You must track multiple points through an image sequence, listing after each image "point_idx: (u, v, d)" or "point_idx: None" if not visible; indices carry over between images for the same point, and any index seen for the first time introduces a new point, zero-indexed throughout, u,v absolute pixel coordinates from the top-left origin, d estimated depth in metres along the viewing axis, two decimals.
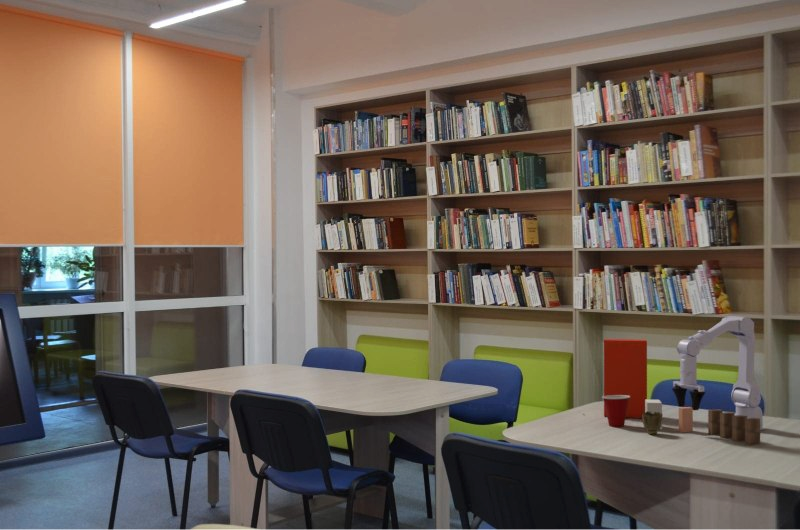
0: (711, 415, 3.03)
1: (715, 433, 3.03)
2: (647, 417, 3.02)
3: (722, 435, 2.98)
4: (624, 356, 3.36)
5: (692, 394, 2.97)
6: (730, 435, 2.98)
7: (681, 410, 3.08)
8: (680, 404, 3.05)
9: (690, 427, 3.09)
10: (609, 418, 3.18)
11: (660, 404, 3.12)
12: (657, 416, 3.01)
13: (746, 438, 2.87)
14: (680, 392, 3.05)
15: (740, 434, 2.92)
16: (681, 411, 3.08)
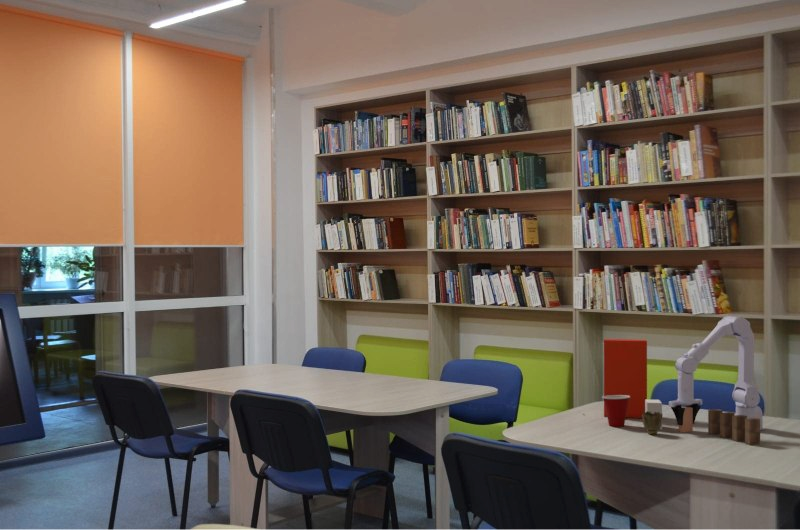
0: (711, 415, 3.03)
1: (715, 433, 3.03)
2: (647, 417, 3.02)
3: (722, 435, 2.98)
4: (624, 356, 3.36)
5: None
6: (730, 435, 2.98)
7: None
8: None
9: (690, 427, 3.09)
10: (609, 418, 3.18)
11: (660, 404, 3.12)
12: (657, 416, 3.01)
13: (746, 438, 2.87)
14: None
15: (740, 434, 2.92)
16: None
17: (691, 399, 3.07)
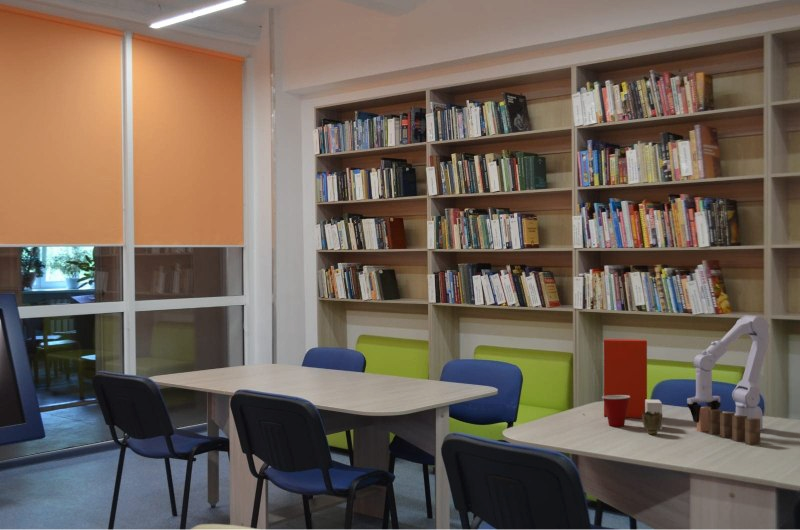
0: (711, 415, 3.03)
1: (715, 433, 3.03)
2: (647, 417, 3.02)
3: (722, 435, 2.98)
4: (624, 356, 3.36)
5: None
6: (730, 435, 2.98)
7: None
8: None
9: None
10: (609, 418, 3.18)
11: (660, 404, 3.12)
12: (657, 416, 3.01)
13: (746, 438, 2.87)
14: (710, 406, 3.12)
15: (740, 434, 2.92)
16: None
17: (709, 396, 3.07)
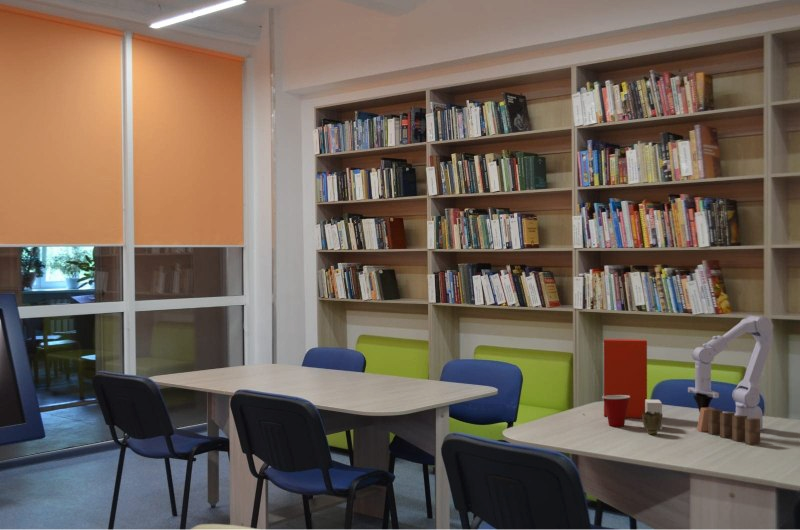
0: (711, 415, 3.03)
1: (715, 433, 3.03)
2: (647, 417, 3.02)
3: (722, 435, 2.98)
4: (624, 356, 3.36)
5: (700, 399, 3.08)
6: (730, 435, 2.98)
7: (703, 411, 3.07)
8: None
9: None
10: (609, 418, 3.18)
11: (660, 404, 3.12)
12: (657, 416, 3.01)
13: (746, 438, 2.87)
14: None
15: (740, 434, 2.92)
16: (703, 412, 3.07)
17: None
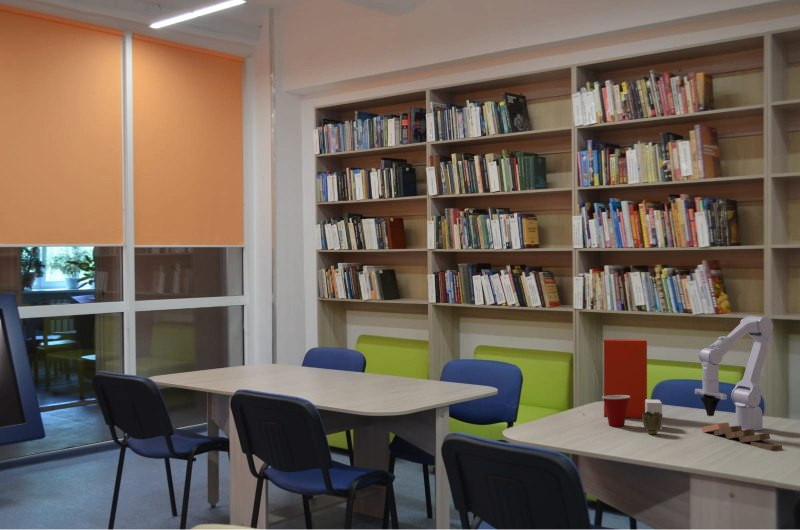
0: (728, 431, 2.95)
1: None
2: (647, 417, 3.02)
3: (727, 436, 2.95)
4: (624, 356, 3.36)
5: (708, 400, 3.04)
6: None
7: (717, 427, 3.00)
8: None
9: None
10: (609, 418, 3.18)
11: (660, 404, 3.12)
12: (657, 416, 3.01)
13: (755, 444, 2.84)
14: None
15: None
16: (716, 428, 3.00)
17: None
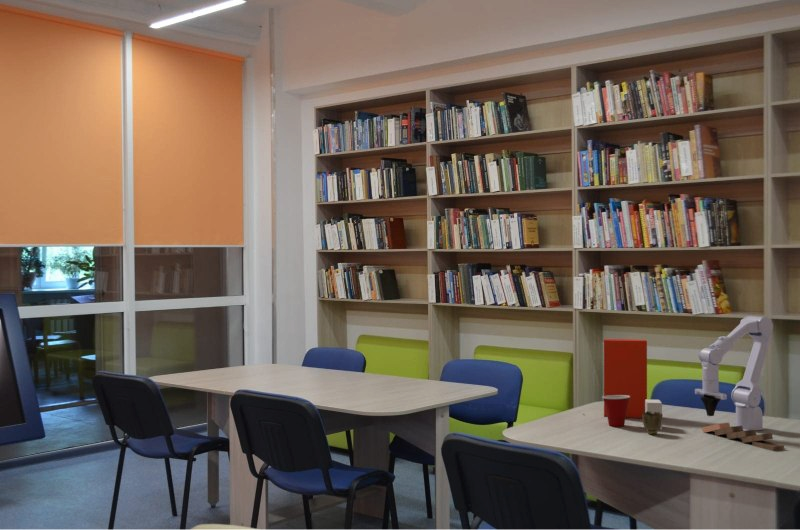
0: (729, 431, 2.95)
1: None
2: (647, 417, 3.02)
3: (728, 436, 2.95)
4: (624, 356, 3.36)
5: (708, 400, 3.04)
6: None
7: (718, 428, 3.00)
8: None
9: None
10: (609, 418, 3.18)
11: (660, 404, 3.12)
12: (657, 416, 3.01)
13: (757, 444, 2.83)
14: None
15: None
16: (717, 428, 3.00)
17: None
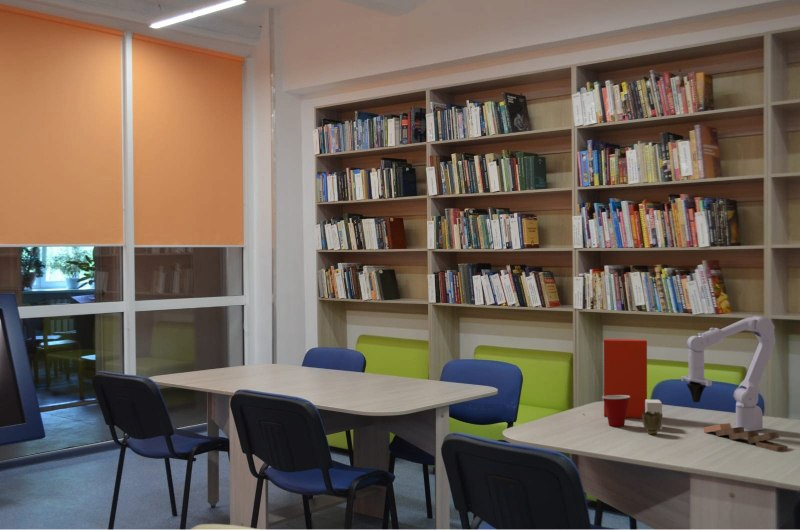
0: (730, 432, 2.94)
1: (720, 435, 3.01)
2: (647, 417, 3.02)
3: (731, 437, 2.94)
4: (624, 356, 3.36)
5: (694, 387, 3.11)
6: None
7: (719, 428, 2.99)
8: None
9: None
10: (609, 418, 3.18)
11: (660, 404, 3.12)
12: (657, 416, 3.01)
13: (760, 445, 2.82)
14: None
15: None
16: (718, 428, 3.00)
17: None
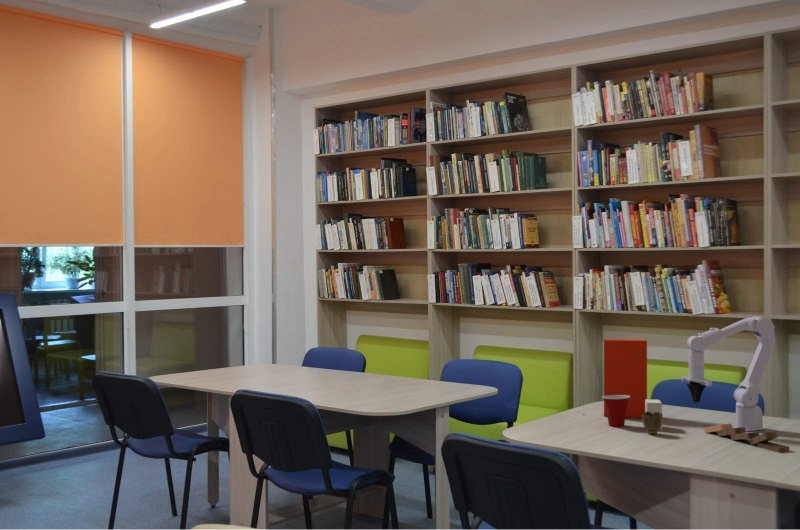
0: (732, 433, 2.94)
1: None
2: (647, 417, 3.02)
3: (732, 437, 2.93)
4: (624, 356, 3.36)
5: (694, 387, 3.11)
6: None
7: (720, 428, 2.99)
8: None
9: (715, 431, 3.06)
10: (609, 418, 3.18)
11: (660, 404, 3.12)
12: (657, 416, 3.01)
13: (762, 445, 2.81)
14: None
15: (759, 442, 2.84)
16: (719, 429, 2.99)
17: None
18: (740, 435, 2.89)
